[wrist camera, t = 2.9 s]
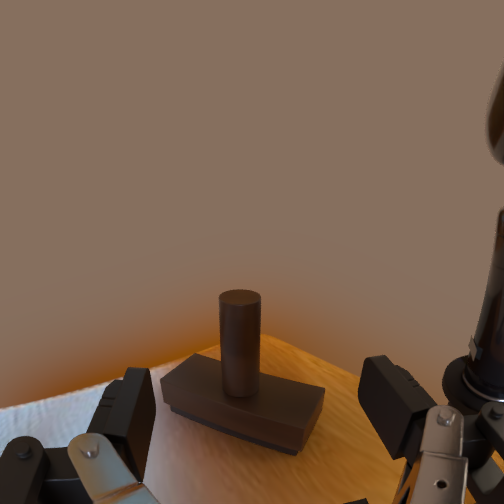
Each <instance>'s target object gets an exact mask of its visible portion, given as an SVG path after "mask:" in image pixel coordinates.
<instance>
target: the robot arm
mask: <svg viewBox="0 0 504 504" xmlns="http://www.w3.org/2000/svg"><path fill="white" fill-rule="evenodd" d="M485 139H486V144H487V147H488V150H489V152H490V154H491V156H492V157H493V158H494V160H495V161H496V162H497V163H499V164H500V165H502V166H504V59H503V61H502V64H501V66H500V69H499V72H498V74H497V76H496V79H495V82H494V84H493V87H492V89H491V93H490V96H489V99H488V103H487V108H486V115H485ZM495 232H496V233H495V237H494V245H493V252H492V258H491V265H490V271H489V276H488V282H487V287H486V291H485V296H484V301H483V305H482V309H481V313H480V317H479V321H478V325H477V329H476V332H475V336H474V339H473V338H472V336H471V339H470V342H469V349H470V352H469V356H468V359H467V362H466V365H465V366H464V368H463V371H462V375H461V379H462V382H463V384H464V386H465V387H466V389H467V390H468V391H469V392H470V393H471V394H473V395H474V396H476V397H477V398H479V399H481V400H483V401H486V402H488V403H486V404H484V405H483V406H482V408H481V410H480V413H479V414H477V415H466V416H463V415H462V414H461V413H460V411H458V410H457V409H456V408H453V407H451V406H447V405H437V404H436V403H435V401H434V400H433V399H432V398H431V397H430V396H429V395H428V393H427V392H426V391H425V390H424V389H423V388H422V387H421V386H420V384H419V383H418V382H417V381H416V380H414V378H413V377H412V376H411V374H410V373H409V372H408V371H407V370H405V369H403V368H401V367H400V366H398V365H394V364H393V363H392V362H391V361H390V360H389V359H388V358H387V356H385V355H381V356H374V357H368V358H366V359H365V360H364V364H363V369H362V374H361V378H360V383H359V387H358V399H359V403H360V405H361V407H362V408H363V410H364V412H365V413H366V415H367V417H368V418H369V420H370V422H371V423H372V425H373V427H374V428H375V430H376V432H377V433H378V435H379V437H380V439H381V440H382V442H383V444H384V445H385V447H386V449H387V450H388V452H389V454H390V455H391V457H392V459H393V460H395V459H399V458H402V457H405V458H406V459H407V461H406V463H405V465H404V468H403V471H402V475H401V478H400V481H399V484H398V488H397V491H396V494H395V497H394V500H393V502H392V504H464V499H465V491H466V486H467V488H468V489H469V491H470V493H471V494H472V496H473V497H474V499H475V501H476V502H477V504H504V474H503V472H502V471H501V470H500V468H499V467H498V466H497V464H496V463H495V462H494V460H493V459H492V458H491V455H492V454H493V452H494V451H495V450H496V451H497V452H498V453H499V455H500V456H501V457H502V459H503V460H504V206H503V207H501V208H500V209H499V211H498V214H497V219H496V228H495ZM155 416H156V403H155V397H154V392H153V386H152V381H151V375H150V371H149V369H148V368H133V367H128V368H127V371H126V373H125V376H124V378H123V380H114V381H113V382H112V383H110V384H109V385H108V386H107V387H106V388H105V390H104V393H103V395H102V399H100V402H99V404H98V406H97V408H96V411H95V413H94V415H93V418H92V420H91V422H90V425H89V427H88V429H87V432H86V433H84V434H81V435H78V436H76V437H75V438H74V439H72V440H71V441H70V443H69V445H68V447H62V448H43V446H42V444H41V443H40V441H39V440H37V439H36V438H33V437H30V436H21V437H17V438H15V439H13V440H12V441H10V442H9V443H8V444H7V446H6V448H5V450H4V451H3V453H2V455H1V457H0V504H160V503H159V502H158V500H157V499H156V498H155V497H154V496H153V494H152V493H151V492H150V491H149V489H148V488H147V487H146V486H145V485H144V484H143V483H139V482H143V479H144V473H145V467H146V462H147V457H148V451H149V446H150V441H151V436H152V431H153V426H154V421H155ZM344 504H369V503H368V501H367V499H366V498H364V499H361V500H357V501H353V502H348V503H344Z"/></svg>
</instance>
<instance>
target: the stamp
mask: <svg viewBox="0 0 504 504" xmlns="http://www.w3.org/2000/svg"><path fill="white" fill-rule="evenodd" d="M219 318H220V319H219V320H220V347H221V361H219V360H215V359H212V358H209V357H206V356H202V355H199V354H196V353H194V354H193V355H192V356H190V357H189V358H188V359H186V360H185V361H184V362H182V363H181V364H180V365H178V366H177V367H176V368H175V369H173V370H172V371H170V372H169V373H168V374H166V375H165V376H164V377H162V378H161V379H160V383H161V389H162V395H163V400H164V402H165V403H167V404H169V405H170V407H171V411H173V412H175V413H177V414H180V415H182V416H184V417H187V418H189V419H191V420H194V421H196V422H198V423H201V424H203V425H206V426H208V427H211V428H213V429H216V430H218V431H221V432H224V433H226V434H229V435H232V436H234V437H237V438H240V439H243V440H246V441H249V442H252V443H255V444H258V445H261V446H264V447H267V448H270V449H273V450H277V451H280V452H283V453H287V454H290V455H294V456H296V455H297V453H298V451H300V452H301V451H302V449H303V447H304V445H305V443H306V442H307V440H308V438H309V436H310V434H311V432H312V430H313V428H314V426H315V424H316V422H317V420H318V417H319V415H320V413H321V411H322V406H323V400H324V394H325V388H322V387H318V386H313V385H309V384H304V383H300V382H296V381H292V380H288V379H284V378H280V377H276V376H272V375H268V374H264V373H260V372H259V371H260V324H261V323H260V322H261V296H260V294H258V293H256V292H254V291H250V290H230V291H226V292H224V293H222V294H220V296H219Z"/></svg>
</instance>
